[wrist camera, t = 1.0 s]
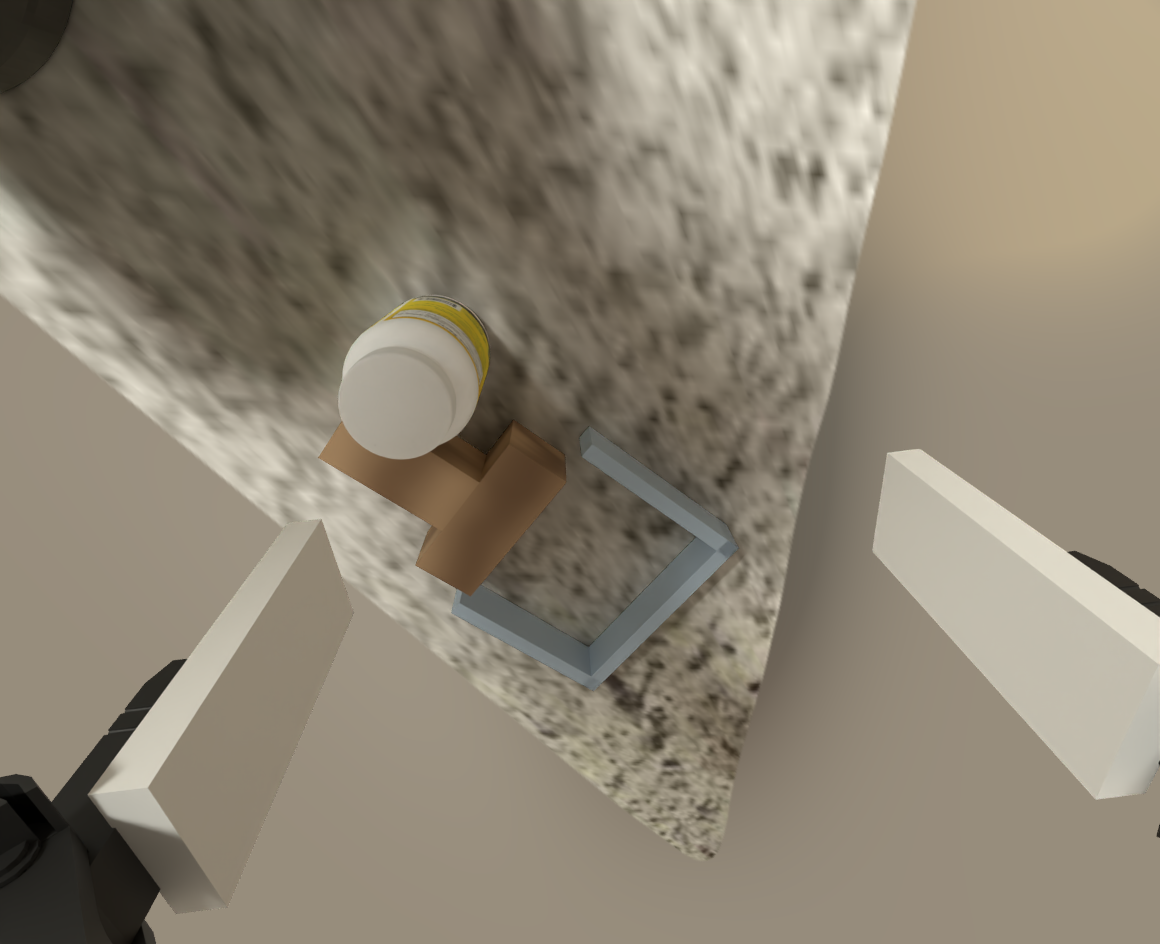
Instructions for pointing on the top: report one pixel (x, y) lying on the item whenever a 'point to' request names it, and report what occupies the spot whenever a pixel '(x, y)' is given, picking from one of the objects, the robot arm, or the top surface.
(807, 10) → the top surface
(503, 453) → the t block
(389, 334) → the pill bottle
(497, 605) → the dock
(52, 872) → the robot arm
